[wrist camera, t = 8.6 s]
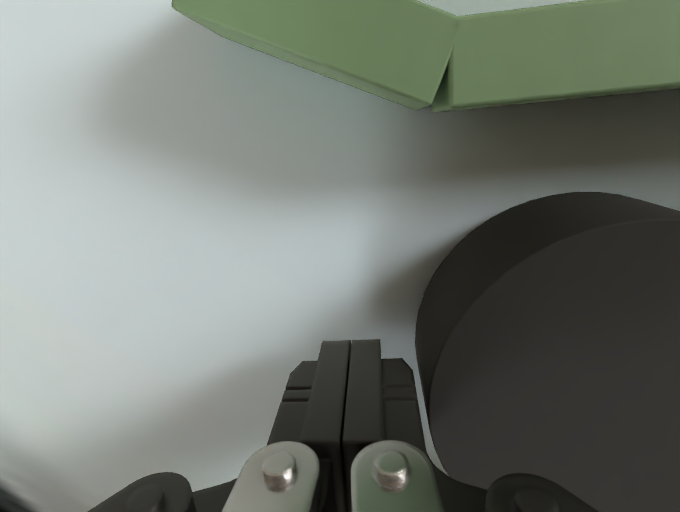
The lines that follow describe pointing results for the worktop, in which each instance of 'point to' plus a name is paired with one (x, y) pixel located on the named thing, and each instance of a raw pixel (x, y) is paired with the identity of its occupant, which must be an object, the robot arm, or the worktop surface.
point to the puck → (560, 350)
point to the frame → (462, 47)
